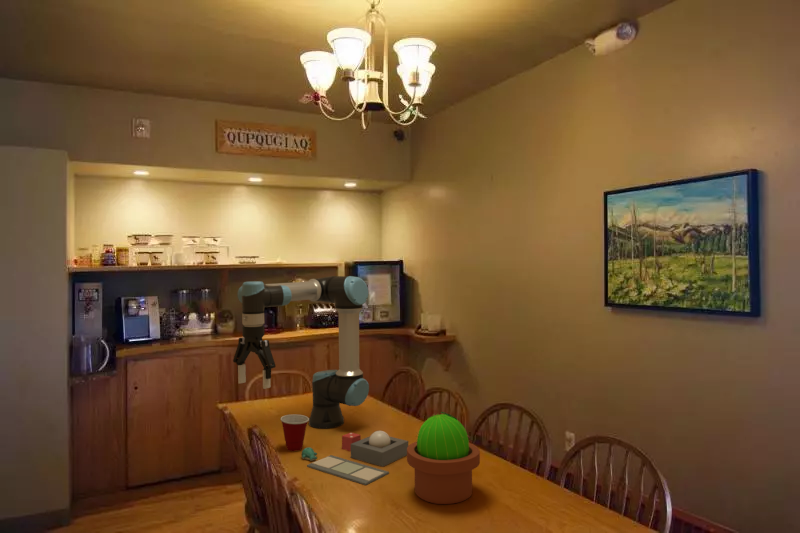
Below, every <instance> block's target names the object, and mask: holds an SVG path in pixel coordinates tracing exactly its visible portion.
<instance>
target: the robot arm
mask: <svg viewBox="0 0 800 533" xmlns="http://www.w3.org/2000/svg"><path fill="white" fill-rule="evenodd" d="M368 297H369V289H368V285H367V283H366V282H365V281H364V279H362V278H361V277H358V276H353V275H349V276H344V275H343V276H342V275H340V276H339V275H330V276H324V277H319V278H310V279H309V280H307V281H295V282H279V283H264V282H263V281H260V280H259V281H257V280H256V281H255V280H254V281H244V282H243V283H242V285H241V286H240V287H239V288H238V290H237V299H238V301H239V302H240V303H241V310H242V312H241V314H242V318H241V320H242V325H243V326H242V327H241V330H242V337H238V342H237V343H238V344H237V347H236V350H235V354H234V357H233V359H232V361H233V363H235V364H236V365H237V379H238V380H237V381H238V382H237V383H238V385H239V384H243V383H247V382H246V381H247V378H246V376H247V375H246V374H247V372H246V369H247V368H246V360H247V358H248V357H249V354H251V353H255V355H256V356H257V358H258V360H259V361H260V363H261V365H262V367H263V369H262V389H264V390H265V389H270V388H271V387H272V386H271V378H272V369H274V368H276V365H277V364H276V362H275V360H274V359H275V358H274V357H273V353H272V350H271V348H270V341H269V340H268V339H266V340H263V337H264V336H265V326H264V325H265V308H270V307H271V308H272V307H282V306H287V305H289V304H290V302H295V301H298V302H299V301H306V300H307V301H310V302H322V303H330V304H334V309H335V310H336V311H337V313H338V369H326V370H321V371H320V370H319V371H317V372H315V373H313V374H312V382H311V383H312V384H311V386H312V408H311V412H310V417H308V418H309V421H308V426H310V427H312V428H314V429H333V428H338V427H341V426H342V425H344V423H345V419H344V415H343V412H342V409H341V404H342V405H346V406H347V407H348V406H349V407H350V406H352V407H358V406H360V405H362V404H363V403H364V402H365V401H366V399H367V398H368V395H369V391H370V384H369V382H368V381H367V379H365V378H364V372H363V370H361V369H360V312H361V311H362V310H363V306H364V304H365V303H366V302H367V299H368Z"/></svg>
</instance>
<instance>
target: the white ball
mask: <svg viewBox="0 0 800 533" xmlns="http://www.w3.org/2000/svg"><path fill="white" fill-rule="evenodd" d="M369 436H370V438H369V445H370V446H374V447H377V448H381V449H382V448H384V447H386V446H388V445H390V443H391V441H390V437H391V436H390V435H389V434H388V433H387V432H386V431H383V430H376V431H374V432H372V433H371V434H370V435H369ZM389 436H390V437H389Z"/></svg>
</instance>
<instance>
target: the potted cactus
mask: <svg viewBox="0 0 800 533" xmlns="http://www.w3.org/2000/svg"><path fill="white" fill-rule="evenodd" d="M440 413H441V414H436V415H435V413H433V415H431V416H429V417H428V418H427V420H426V419H425V421H424V422H423V421H422V424H421V426H420V428H419V430H418V432H416V434H417V435H416V436H417V438H416V441H415V442H412V443H410V444H408V447H407V455H406V463H407V464H408V465H409V466H410V467H411V468H412V469H414V492H415V494H416V496H418V498H420V499H421V500H423V501H425V502H428V503H431V504H436V505H451V504H452V505H453V504H457V503H461V502H464V501H466V500H468V499H469V498H471V496H472V495H473V494H472V493H473V470H475V469H476V468H478V467H479V466H480V463H481V462H480V461H481V453H480V451H481V450H480V449H479V447H477V446H476V445H475V444H474V443H472V442H470V440H469V439H470V435H468V432H467V429H466V428H465V427H464V424H462V423H461V422H460V420H458V419H459V418H457V417H455V416H453V415H452V414H450V413H447V412H445V411H444V412H443V411H441V412H440Z"/></svg>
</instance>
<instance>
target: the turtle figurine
mask: <svg viewBox="0 0 800 533" xmlns="http://www.w3.org/2000/svg"><path fill="white" fill-rule="evenodd" d="M300 454H301V459H302V460H306V461H312V462H313V461H317V459H318V457H317V455H318V453H317V452H315V450H314V449H313V448H312V447H310V446H309V447H308V446H307V447H305V448H304V449H302V450H301V453H300Z"/></svg>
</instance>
